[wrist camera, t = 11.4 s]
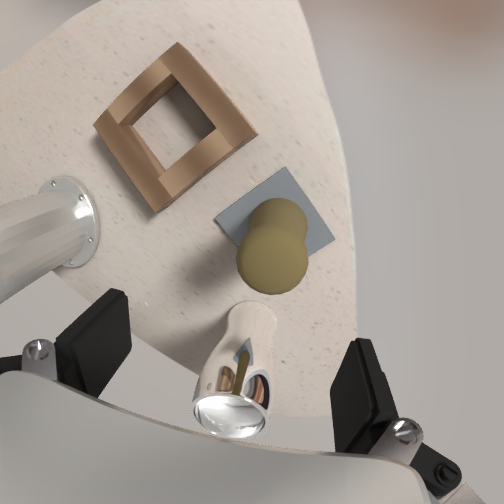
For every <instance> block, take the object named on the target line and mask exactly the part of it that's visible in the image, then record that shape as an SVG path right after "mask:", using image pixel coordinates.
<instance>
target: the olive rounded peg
mask: <svg viewBox="0 0 504 504" xmlns="http://www.w3.org/2000/svg"><path fill="white" fill-rule="evenodd" d="M307 230H308V224H307V218H306V216H305V214H304V212H303V210H302V209H301V208H300V207H299V206H298V205H297V204H296V203H294V202H292V201H290V200H288V199H283V198H272V199H268V200H266V201H264V202H262V203H261V204H260V205H258V206H257V207H256V208H255V210H254V211H253V213H252V215H251V217H250V223H249V233H248V234H247V235H245V236H244V238H243V240H242V242H241V243H240V245H239V247H238V251H237V257H236V260H237V266H238V272H239V274H240V275H241V277H242V279H243V281H244V282H245V283H246V284H247V285H248V286H249V287H250V288H252V289H254V290H256V291H258V292H259V293H264V294H268V295H276V294H282V293H285V292H288V291H290V290H292V289H293V288H294V287H296V286H297V285H298V284H299V283H300V281H301V280H302V278H303V277H304V275H305V274H306V270H307V267H308V251H307V248H306V246H305V244H304V241H305V238H306V234H307Z"/></svg>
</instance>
